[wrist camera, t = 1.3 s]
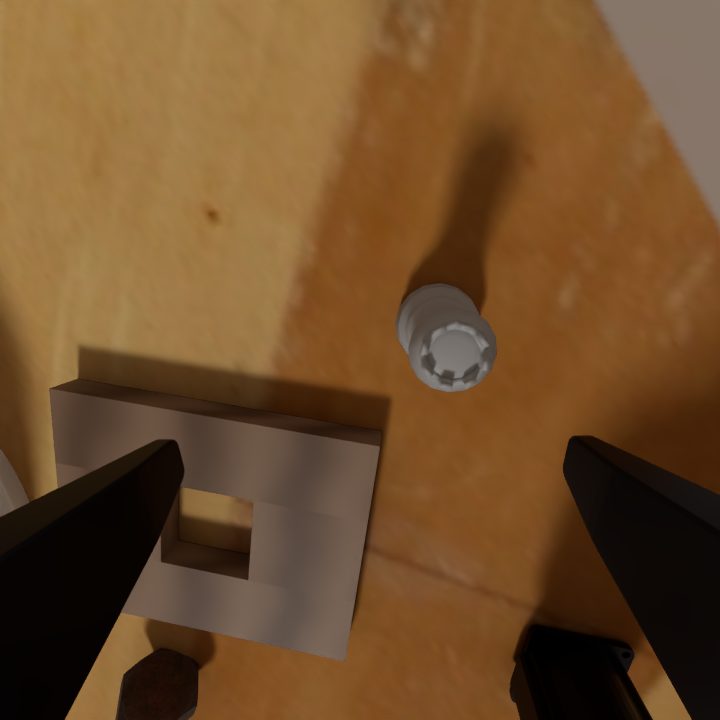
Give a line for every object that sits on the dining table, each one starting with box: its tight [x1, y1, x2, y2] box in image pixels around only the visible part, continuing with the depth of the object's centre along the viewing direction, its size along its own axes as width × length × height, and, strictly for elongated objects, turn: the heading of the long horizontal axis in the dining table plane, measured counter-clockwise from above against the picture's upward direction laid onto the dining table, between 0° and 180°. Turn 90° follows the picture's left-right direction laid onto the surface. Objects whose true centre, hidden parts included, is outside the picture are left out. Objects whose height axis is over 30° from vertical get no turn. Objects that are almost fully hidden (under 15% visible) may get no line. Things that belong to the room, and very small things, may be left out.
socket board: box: [49, 379, 382, 661], centre depth 24 cm, size 20×16×2 cm
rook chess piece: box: [396, 283, 497, 392], centre depth 17 cm, size 4×4×8 cm
